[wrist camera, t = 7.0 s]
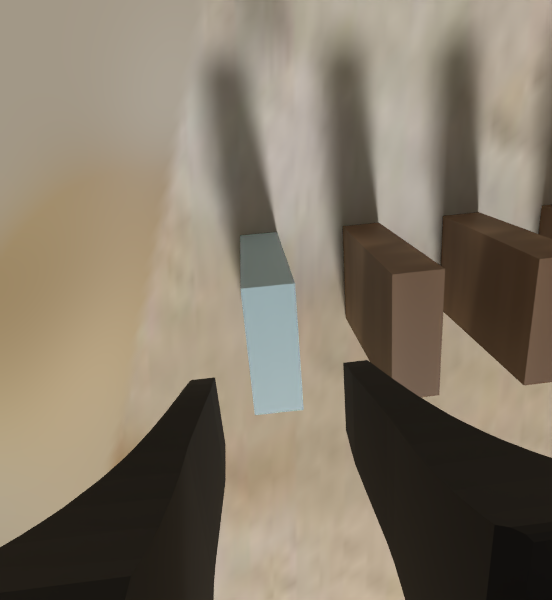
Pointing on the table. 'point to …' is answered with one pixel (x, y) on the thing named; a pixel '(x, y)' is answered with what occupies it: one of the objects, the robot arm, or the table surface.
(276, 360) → the teal domino
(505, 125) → the table surface
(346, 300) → the domino
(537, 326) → the domino
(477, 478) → the robot arm
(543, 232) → the domino
